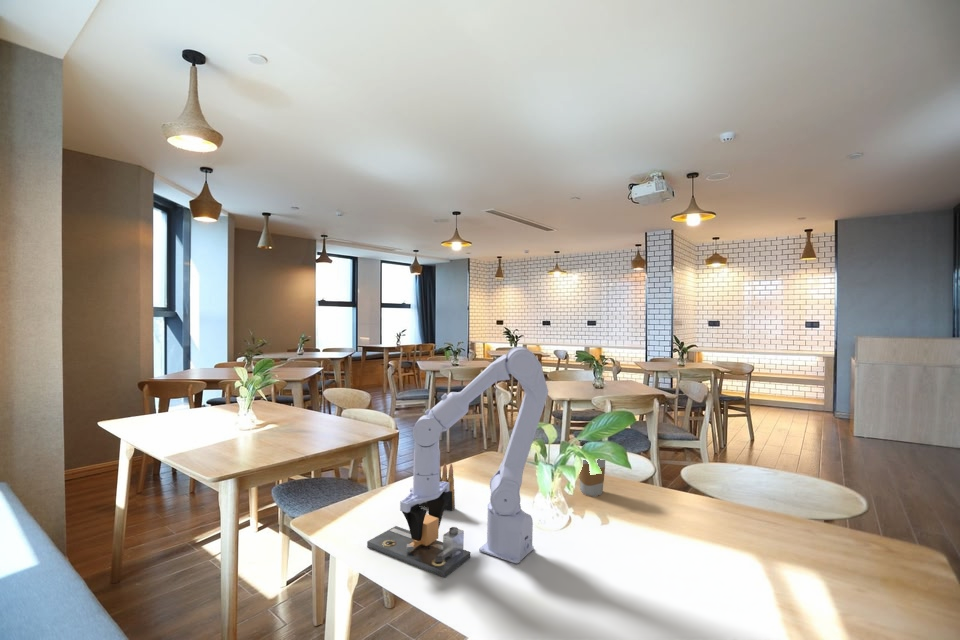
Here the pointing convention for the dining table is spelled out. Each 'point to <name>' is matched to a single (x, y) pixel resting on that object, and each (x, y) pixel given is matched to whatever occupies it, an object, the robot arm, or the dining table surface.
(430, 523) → the orange block with rod
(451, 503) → the ammunition clip
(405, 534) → the bolt plate
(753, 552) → the dining table surface
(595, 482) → the coffee cup
